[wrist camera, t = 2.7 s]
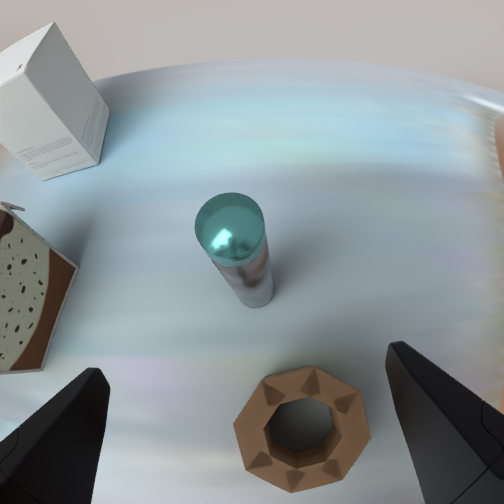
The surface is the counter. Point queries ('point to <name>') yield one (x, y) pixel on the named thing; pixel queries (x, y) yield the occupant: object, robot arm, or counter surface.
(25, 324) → the food container
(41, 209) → the counter surface
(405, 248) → the counter surface
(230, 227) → the teal-capped metal tube
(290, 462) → the brown octagonal ring
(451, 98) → the counter surface
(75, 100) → the supplement box
